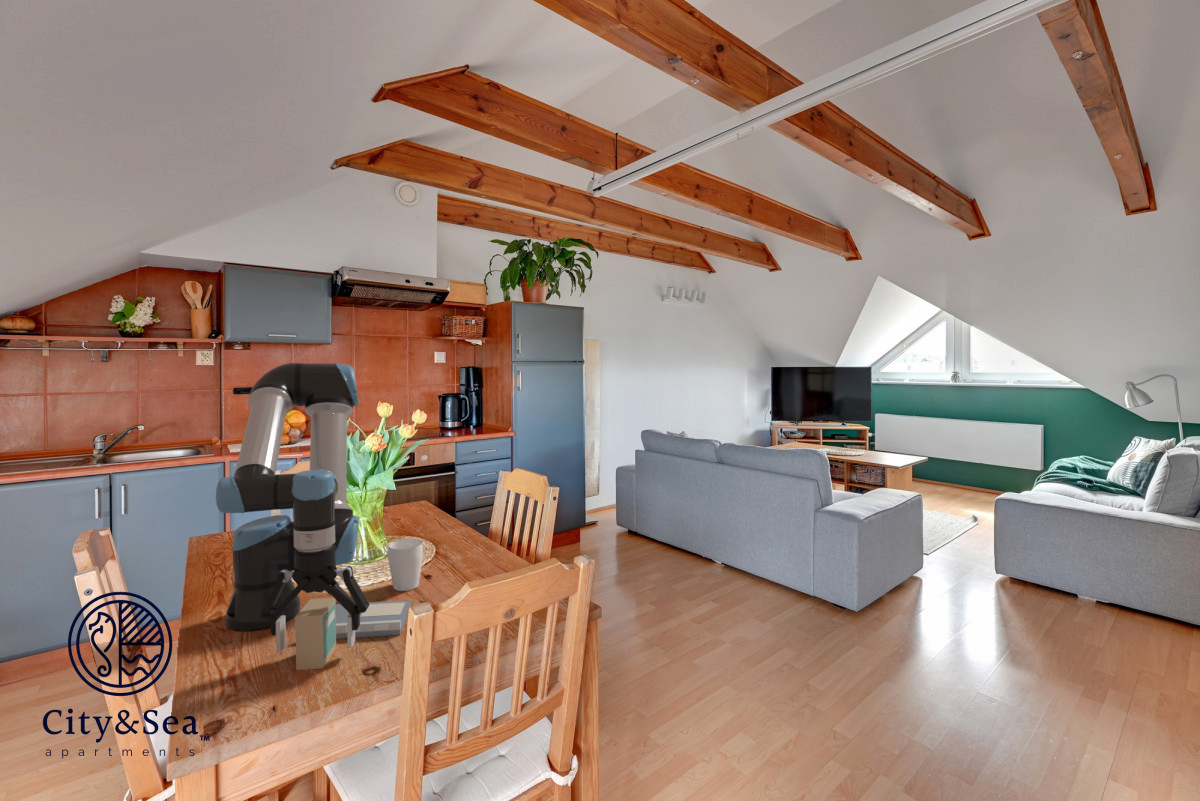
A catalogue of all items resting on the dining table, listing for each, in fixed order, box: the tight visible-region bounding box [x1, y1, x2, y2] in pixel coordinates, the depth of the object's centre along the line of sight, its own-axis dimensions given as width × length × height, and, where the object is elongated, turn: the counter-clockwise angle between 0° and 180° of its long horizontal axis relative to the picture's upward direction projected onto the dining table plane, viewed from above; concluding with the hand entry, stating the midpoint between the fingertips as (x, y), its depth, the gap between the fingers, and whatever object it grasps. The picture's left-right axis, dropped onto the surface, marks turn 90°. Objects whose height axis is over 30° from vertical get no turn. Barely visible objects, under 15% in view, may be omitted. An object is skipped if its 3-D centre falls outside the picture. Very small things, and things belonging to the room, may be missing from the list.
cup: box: [387, 538, 424, 592], centre depth 145 cm, size 9×9×12 cm
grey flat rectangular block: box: [336, 599, 414, 640], centre depth 125 cm, size 20×15×3 cm
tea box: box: [294, 597, 337, 671], centre depth 109 cm, size 8×5×11 cm, turn 9°
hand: (316, 647), depth 109 cm, fingers open, 13 cm apart
